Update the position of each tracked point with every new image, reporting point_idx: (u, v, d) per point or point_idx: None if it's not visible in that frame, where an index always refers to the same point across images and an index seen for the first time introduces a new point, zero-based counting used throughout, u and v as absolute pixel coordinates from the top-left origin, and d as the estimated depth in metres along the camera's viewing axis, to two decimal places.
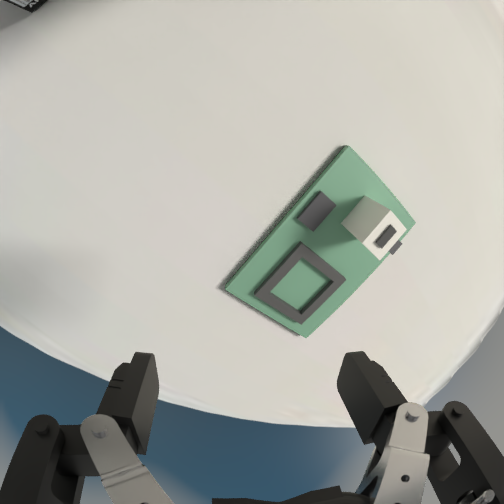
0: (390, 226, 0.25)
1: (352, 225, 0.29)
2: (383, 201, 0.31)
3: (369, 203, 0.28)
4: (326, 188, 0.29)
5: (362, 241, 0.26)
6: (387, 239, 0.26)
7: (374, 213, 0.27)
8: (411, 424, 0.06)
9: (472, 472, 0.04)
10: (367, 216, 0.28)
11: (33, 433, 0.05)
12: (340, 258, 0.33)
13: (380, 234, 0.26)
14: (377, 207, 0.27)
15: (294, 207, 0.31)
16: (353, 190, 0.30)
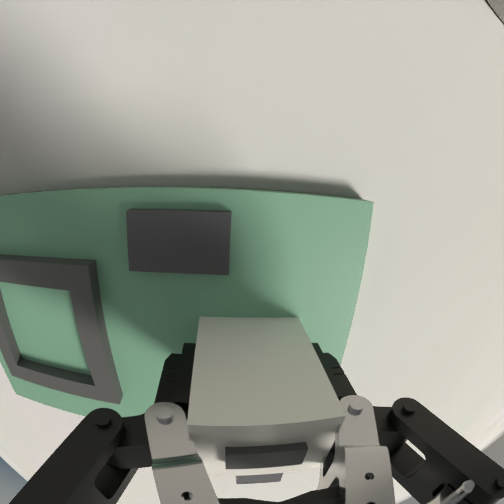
0: (301, 448, 0.07)
1: (213, 348, 0.10)
2: None
3: (296, 342, 0.10)
4: (247, 221, 0.11)
5: (192, 421, 0.06)
6: (260, 464, 0.07)
7: (292, 379, 0.08)
8: (351, 417, 0.07)
9: (442, 467, 0.05)
10: (268, 366, 0.09)
11: (92, 424, 0.06)
12: (140, 367, 0.12)
13: (258, 444, 0.07)
14: (312, 371, 0.09)
15: (150, 187, 0.11)
16: (290, 286, 0.12)
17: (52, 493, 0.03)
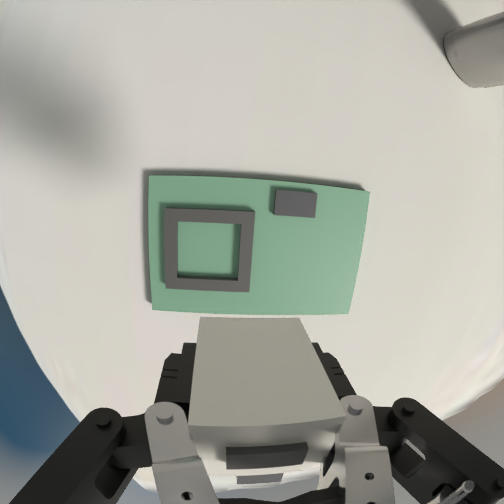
0: (302, 448, 0.07)
1: (213, 348, 0.10)
2: (345, 264, 0.29)
3: (297, 343, 0.10)
4: (321, 197, 0.27)
5: (193, 421, 0.06)
6: (261, 464, 0.07)
7: (292, 380, 0.08)
8: (351, 417, 0.07)
9: (442, 467, 0.05)
10: (268, 366, 0.09)
11: (92, 424, 0.06)
12: (264, 268, 0.28)
13: (258, 444, 0.07)
14: (313, 371, 0.09)
15: (282, 181, 0.26)
16: (336, 225, 0.28)
17: (52, 493, 0.03)
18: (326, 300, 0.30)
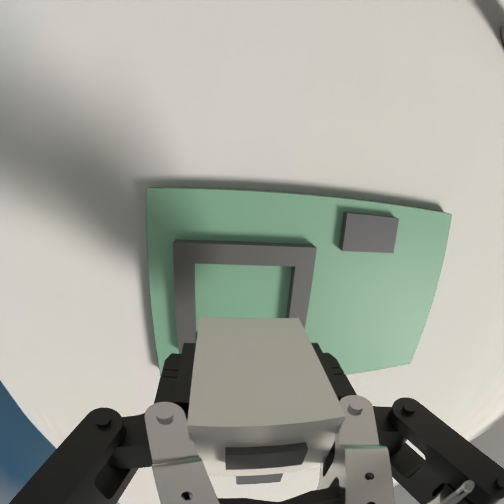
0: (301, 448, 0.07)
1: (213, 349, 0.10)
2: (418, 307, 0.20)
3: (296, 343, 0.10)
4: (400, 223, 0.17)
5: (192, 421, 0.06)
6: (260, 464, 0.07)
7: (292, 380, 0.08)
8: (351, 417, 0.07)
9: (442, 467, 0.05)
10: (268, 366, 0.09)
11: (92, 424, 0.06)
12: (321, 322, 0.19)
13: (257, 445, 0.07)
14: (312, 371, 0.09)
15: (351, 199, 0.17)
16: (414, 260, 0.18)
17: (52, 493, 0.03)
18: (390, 352, 0.21)
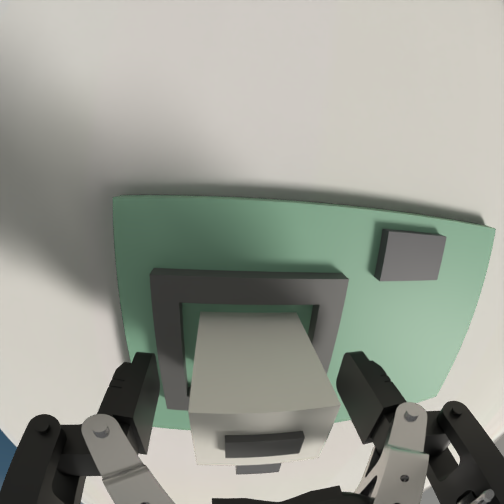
0: (298, 437, 0.07)
1: (213, 341, 0.10)
2: (452, 338, 0.15)
3: (294, 336, 0.11)
4: (445, 241, 0.13)
5: (193, 409, 0.07)
6: (259, 452, 0.07)
7: (289, 370, 0.09)
8: (410, 424, 0.06)
9: (471, 472, 0.04)
10: (266, 357, 0.09)
11: (34, 433, 0.05)
12: None
13: (256, 433, 0.07)
14: (309, 362, 0.09)
15: (391, 211, 0.12)
16: (455, 285, 0.14)
17: None
18: (417, 389, 0.16)
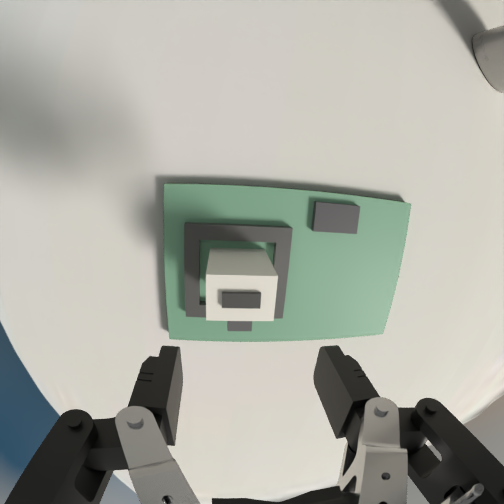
0: (258, 294, 0.17)
1: (217, 256, 0.20)
2: (384, 282, 0.25)
3: (260, 256, 0.21)
4: (362, 210, 0.23)
5: (208, 273, 0.17)
6: (239, 304, 0.17)
7: (255, 265, 0.19)
8: (379, 419, 0.07)
9: (456, 468, 0.04)
10: (244, 261, 0.20)
11: (64, 427, 0.05)
12: (299, 290, 0.24)
13: (237, 290, 0.17)
14: (266, 264, 0.19)
15: (321, 191, 0.22)
16: (377, 241, 0.24)
17: (36, 499, 0.03)
18: (362, 321, 0.26)
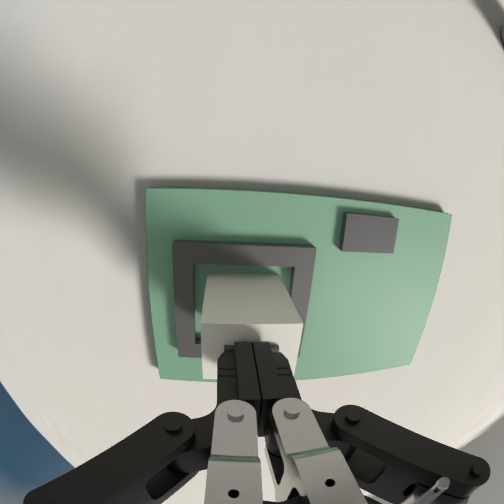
0: (275, 348, 0.12)
1: (217, 288, 0.15)
2: (418, 308, 0.20)
3: (275, 287, 0.16)
4: (400, 223, 0.17)
5: (204, 321, 0.12)
6: None
7: (269, 304, 0.13)
8: (284, 421, 0.07)
9: (408, 470, 0.05)
10: (254, 297, 0.14)
11: (160, 427, 0.06)
12: (320, 323, 0.19)
13: None
14: (284, 301, 0.14)
15: (351, 199, 0.17)
16: (414, 260, 0.18)
17: (95, 487, 0.04)
18: (390, 353, 0.21)
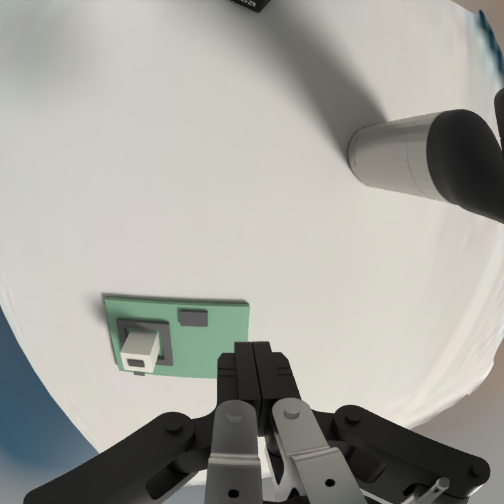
0: (142, 362, 0.34)
1: (131, 338, 0.37)
2: None
3: (151, 339, 0.38)
4: (212, 313, 0.40)
5: (121, 351, 0.34)
6: (135, 365, 0.34)
7: (144, 347, 0.36)
8: (284, 421, 0.07)
9: (408, 470, 0.05)
10: (141, 343, 0.36)
11: (160, 427, 0.06)
12: (181, 352, 0.41)
13: (134, 359, 0.34)
14: (150, 346, 0.36)
15: (185, 303, 0.39)
16: (225, 329, 0.41)
17: (95, 487, 0.04)
18: None
